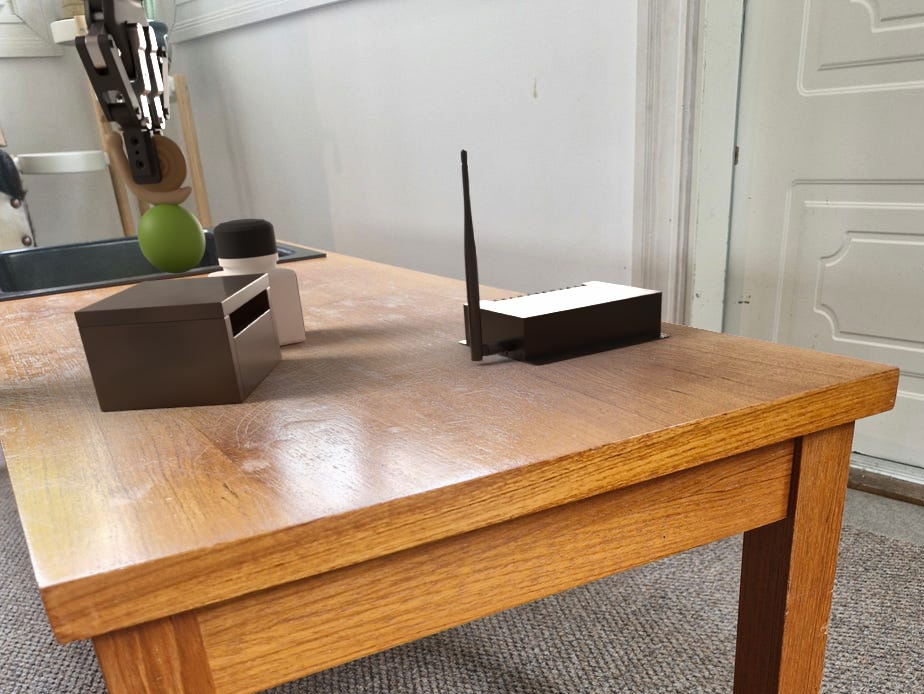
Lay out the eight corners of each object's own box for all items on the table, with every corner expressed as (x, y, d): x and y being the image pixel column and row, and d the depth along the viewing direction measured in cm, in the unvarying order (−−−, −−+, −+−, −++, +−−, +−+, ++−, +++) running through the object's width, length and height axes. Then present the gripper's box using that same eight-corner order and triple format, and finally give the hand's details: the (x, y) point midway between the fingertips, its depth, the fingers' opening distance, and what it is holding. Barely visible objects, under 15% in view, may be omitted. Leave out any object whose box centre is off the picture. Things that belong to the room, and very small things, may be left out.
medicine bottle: (307, 341, 95) (288, 217, 89) (244, 353, 92) (220, 225, 86) (281, 332, 101) (261, 215, 95) (220, 343, 97) (195, 222, 91)
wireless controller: (584, 317, 97) (583, 136, 88) (673, 336, 86) (681, 131, 78) (421, 349, 88) (403, 151, 80) (498, 373, 78) (486, 148, 69)
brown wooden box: (101, 411, 75) (73, 311, 71) (163, 366, 89) (143, 281, 85) (241, 403, 75) (221, 302, 71) (282, 359, 88) (267, 272, 84)
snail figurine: (147, 272, 80) (112, 116, 74) (218, 267, 79) (189, 110, 74) (125, 280, 75) (86, 113, 69) (201, 274, 75) (168, 107, 69)
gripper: (83, -63, 71) (138, 181, 80) (-1, -100, 59) (74, 191, 68) (176, -71, 71) (221, 175, 79) (110, -110, 59) (171, 184, 68)
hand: (153, 182), depth 74 cm, fingers closed on snail figurine
